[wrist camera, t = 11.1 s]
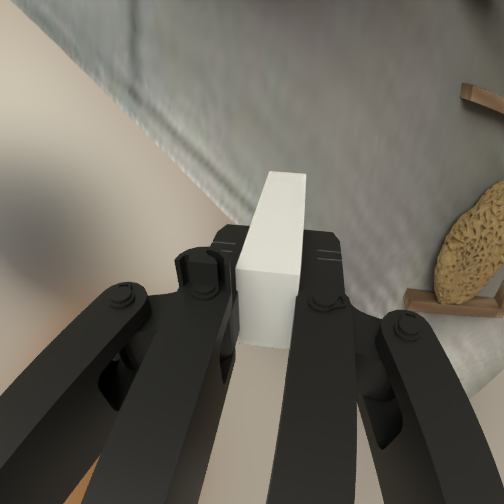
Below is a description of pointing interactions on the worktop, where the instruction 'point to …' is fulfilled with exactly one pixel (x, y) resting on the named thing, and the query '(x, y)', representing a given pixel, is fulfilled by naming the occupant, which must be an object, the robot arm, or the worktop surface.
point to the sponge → (472, 249)
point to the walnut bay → (476, 305)
